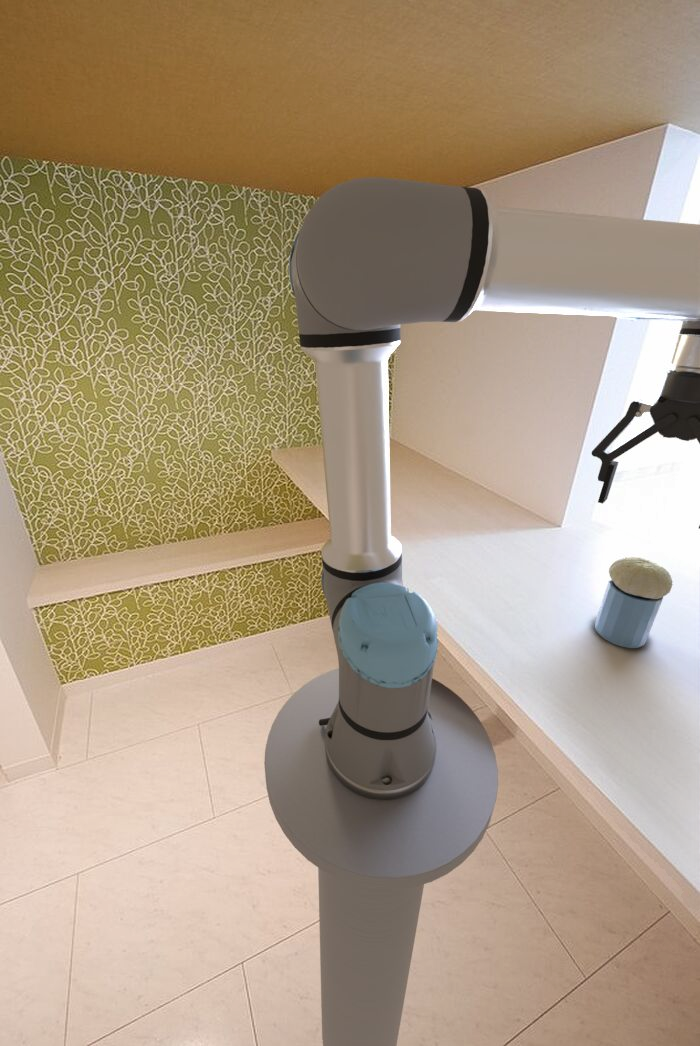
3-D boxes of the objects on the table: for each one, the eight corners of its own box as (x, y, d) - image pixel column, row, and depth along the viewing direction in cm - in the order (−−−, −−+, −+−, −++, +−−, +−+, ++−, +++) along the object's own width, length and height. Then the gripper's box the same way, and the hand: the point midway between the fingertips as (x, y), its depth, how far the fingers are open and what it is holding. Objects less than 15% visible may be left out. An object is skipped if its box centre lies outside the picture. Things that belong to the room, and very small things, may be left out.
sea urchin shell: (636, 559, 81) (673, 547, 73) (651, 601, 78) (691, 593, 71) (594, 563, 79) (628, 551, 71) (608, 607, 76) (644, 599, 69)
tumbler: (589, 633, 80) (603, 587, 75) (601, 613, 85) (615, 569, 81) (640, 655, 75) (659, 607, 70) (649, 632, 80) (667, 587, 76)
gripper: (826, 378, 54) (753, 530, 63) (607, 361, 69) (573, 486, 78) (831, 383, 49) (751, 548, 58) (594, 363, 64) (559, 497, 73)
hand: (649, 513), depth 68 cm, fingers open, 13 cm apart
